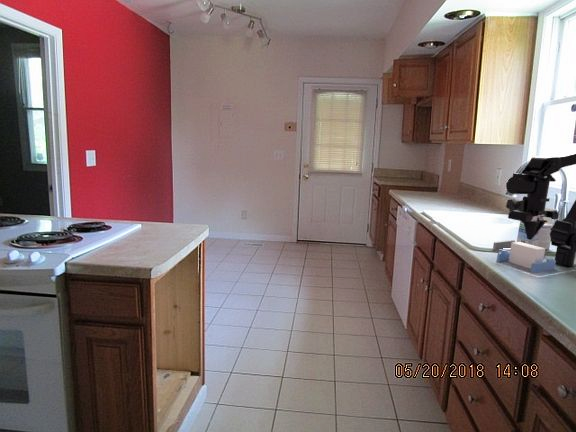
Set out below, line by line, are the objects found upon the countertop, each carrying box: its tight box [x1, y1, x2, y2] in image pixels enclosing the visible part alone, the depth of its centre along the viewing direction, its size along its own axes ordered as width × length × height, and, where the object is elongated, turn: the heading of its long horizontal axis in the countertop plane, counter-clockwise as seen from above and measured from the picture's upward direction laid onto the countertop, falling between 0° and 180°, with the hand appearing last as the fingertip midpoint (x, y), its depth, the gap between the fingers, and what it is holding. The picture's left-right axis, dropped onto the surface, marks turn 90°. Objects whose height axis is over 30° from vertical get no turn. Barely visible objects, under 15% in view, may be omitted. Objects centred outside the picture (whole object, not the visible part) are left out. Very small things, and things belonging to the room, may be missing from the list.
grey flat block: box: [492, 239, 547, 258], centre depth 151 cm, size 12×13×3 cm
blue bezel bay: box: [496, 250, 557, 274], centre depth 136 cm, size 12×13×4 cm
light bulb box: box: [516, 221, 554, 250], centre depth 162 cm, size 11×7×11 cm, turn 15°
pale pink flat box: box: [508, 241, 546, 269], centre depth 135 cm, size 4×9×7 cm, turn 26°
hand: (529, 239), depth 134 cm, fingers closed
